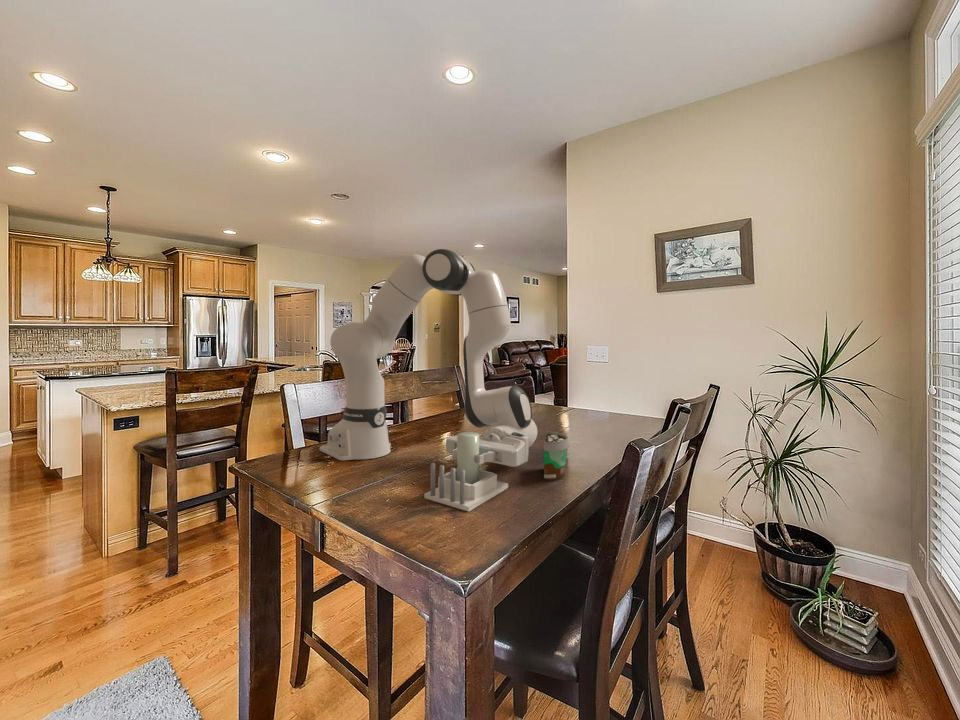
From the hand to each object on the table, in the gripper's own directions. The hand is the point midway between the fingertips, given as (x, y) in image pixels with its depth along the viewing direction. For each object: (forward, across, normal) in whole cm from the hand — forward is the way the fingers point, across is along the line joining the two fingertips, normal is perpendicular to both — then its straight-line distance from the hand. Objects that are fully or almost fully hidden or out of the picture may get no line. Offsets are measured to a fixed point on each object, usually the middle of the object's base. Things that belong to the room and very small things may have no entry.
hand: (465, 457), depth 93 cm
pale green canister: (-1, 0, +6) cm, 6 cm away
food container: (-23, +12, +9) cm, 28 cm away
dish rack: (-1, 0, +8) cm, 9 cm away
